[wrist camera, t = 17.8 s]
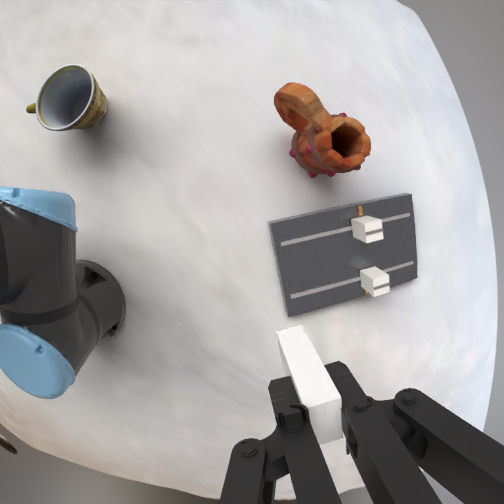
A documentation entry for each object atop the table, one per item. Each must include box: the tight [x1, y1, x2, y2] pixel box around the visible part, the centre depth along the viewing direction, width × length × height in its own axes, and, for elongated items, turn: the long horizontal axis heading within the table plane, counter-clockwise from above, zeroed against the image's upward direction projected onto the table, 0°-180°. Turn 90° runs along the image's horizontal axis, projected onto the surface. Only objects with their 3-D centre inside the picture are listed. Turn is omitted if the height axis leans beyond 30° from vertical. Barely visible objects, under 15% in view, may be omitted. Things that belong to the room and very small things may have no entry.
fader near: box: [351, 216, 384, 243], centre depth 45 cm, size 3×3×5 cm
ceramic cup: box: [26, 64, 107, 131], centre depth 35 cm, size 13×10×10 cm
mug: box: [274, 83, 371, 178], centre depth 38 cm, size 15×8×15 cm, turn 46°
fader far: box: [360, 266, 390, 297], centre depth 47 cm, size 3×3×5 cm
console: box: [268, 193, 417, 317], centre depth 49 cm, size 26×16×2 cm, turn 102°
